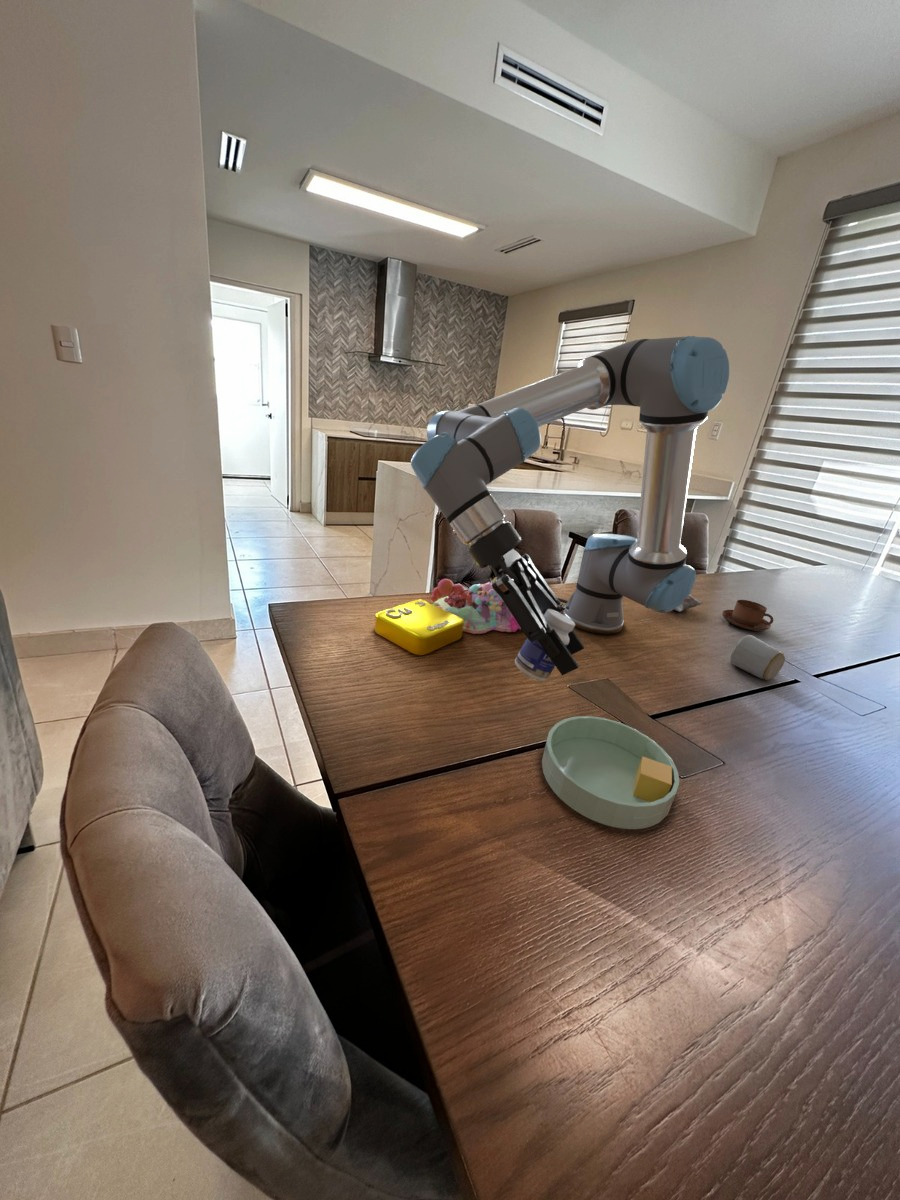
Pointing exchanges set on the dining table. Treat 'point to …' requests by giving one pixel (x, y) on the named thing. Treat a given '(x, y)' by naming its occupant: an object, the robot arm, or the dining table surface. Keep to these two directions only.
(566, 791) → the bowl
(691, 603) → the packaged food
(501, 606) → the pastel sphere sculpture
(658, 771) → the block
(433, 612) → the element tile
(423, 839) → the dining table surface
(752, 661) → the ceramic mug
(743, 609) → the cup and saucer
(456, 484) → the robot arm
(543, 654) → the pill bottle
